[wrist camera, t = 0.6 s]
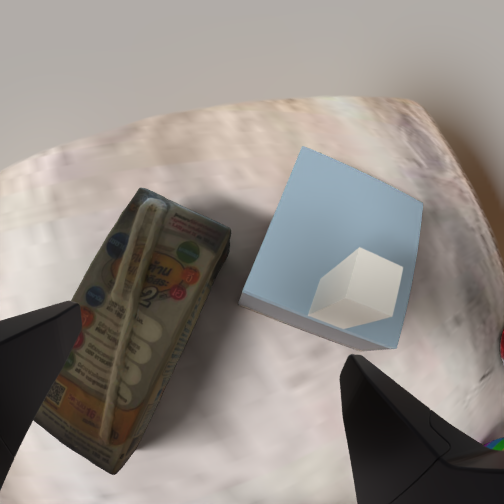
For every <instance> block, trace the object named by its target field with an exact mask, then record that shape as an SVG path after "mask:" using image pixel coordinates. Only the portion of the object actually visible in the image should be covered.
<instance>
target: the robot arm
mask: <svg viewBox="0 0 504 504" xmlns="http://www.w3.org/2000/svg"><path fill="white" fill-rule="evenodd" d="M81 329H82V318H81V308H80V305H79V304H78V303H76V302H72V301H65V302H62V303H59V304H55V305H52V306H49V307H45V308H42V309H38V310H35V311H32V312H28V313H25V314H22V315H18V316H15V317H11V318H8V319H5V320H1V321H0V490H1V488H2V485H3V483H4V481H5V478H6V476H7V474H8V471H9V469H10V467H11V465H12V463H13V460H14V457H15V456H16V454H17V451H18V449H19V447H20V445H21V443H22V441H23V439H24V437H25V435H26V433H27V431H28V429H29V427H30V425H31V423H32V421H33V420H34V418H35V416H36V414H37V412H38V410H39V408H40V407H41V405H42V403H43V401H44V399H45V398H46V396H47V394H48V392H49V391H50V389H51V387H52V385H53V384H54V382H55V380H56V378H57V377H58V375H59V373H60V372H61V370H62V368H63V367H64V365H65V363H66V361H67V359H68V357H69V355H70V353H71V351H72V348H73V346H74V344H75V342H76V340H77V338H78V336H79V334H80V332H81ZM340 389H341V402H342V415H343V422H344V427H345V432H346V438H347V443H348V449H349V454H350V460H351V466H352V472H353V478H354V484H355V491H356V497H357V504H504V450H502V451H500V450H493V449H490V448H487V447H485V446H484V445H482V444H480V443H479V442H477V441H476V440H474V439H472V438H471V437H469V436H468V435H466V434H465V433H463V432H461V431H460V430H458V429H457V428H455V427H454V426H452V425H451V424H449V423H448V422H447V421H445V420H444V419H443V418H441V417H440V416H439V415H437V414H436V413H435V412H433V411H432V410H430V409H429V408H428V407H427V406H426V405H424V404H423V403H422V402H420V401H419V400H418V399H417V398H415V397H414V396H413V395H411V394H410V393H409V392H408V391H406V390H405V389H404V388H403V387H401V386H400V385H399V384H397V383H396V382H395V381H394V380H392V379H391V378H390V377H388V376H387V375H386V374H385V373H383V372H382V371H381V370H380V369H378V368H377V367H376V366H375V365H373V364H372V363H371V362H369V361H368V360H367V359H366V358H364V357H363V356H362V355H354V354H351V355H349V356H348V358H347V360H346V362H345V364H344V367H343V369H342V371H341V374H340Z"/></svg>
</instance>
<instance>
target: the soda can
mask: <svg viewBox="0 0 504 504" xmlns="http://www.w3.org/2000/svg"><path fill="white" fill-rule="evenodd" d="M500 355H501V359H502V362H503V365H504V330H503V333H502V337H501V341H500Z"/></svg>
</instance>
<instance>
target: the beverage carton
mask: <svg viewBox="0 0 504 504" xmlns="http://www.w3.org/2000/svg"><path fill="white" fill-rule="evenodd" d="M230 237H231V229H230V228H228V227H226V226H224V225H222V224H220V223H218V222H216V221H214V220H212V219H210V218H207V217H205V216H203V215H201V214H198V213H196V212H194V211H192V210H189V209H187V208H185V207H183V206H181V205H179V204H177V203H175V202H173V201H171V200H168V199H166V198H165V197H163V196H161V195H159V194H157V193H155V192H153V191H150V190H148V189H146V188H139V189H138V191H137V193H136V194H135V196H134V197H133V198H132V200H131V201H130V203H129V204H128V206H127V207H126V208H125V210H124V211H123V212H122V214H121V215H120V217H119V219H118V221H117V223H116V224H115V225H114V227H113V228H112V230H111V231H110V233H109V234H108V236H107V238H106V239H105V241H104V243H103V244H102V246H101V248H100V250H99V251H98V253H97V255H96V256H95V258H94V260H93V261H92V263H91V265H90V267H89V269H88V270H87V272H86V274H85V276H84V278H83V280H82V282H81V283H80V285H79V287H78V289H77V291H76V293H75V294H74V296H73V298H72V300H71V301H72V302H76V303H78V304H79V305H80V308H81V318H82V329H81V332H80V334H79V336H78V338H77V340H76V342H75V344H74V346H73V348H72V351H71V353H70V355H69V357H68V359H67V361H66V363H65V365H64V367H63V368H62V370H61V372H60V373H59V375H58V377H57V378H56V380H55V382H54V384H53V385H52V387H51V389H50V391H49V392H48V394H47V396H46V398H45V399H44V401H43V403H42V405H41V407H40V408H39V410H38V412H37V414H36V416H35V418H34V421H35V422H36V423H37V424H38V425H40V426H41V427H43V428H44V429H45V430H46V431H47V432H49V433H50V434H51V435H52V436H54V437H55V438H56V439H58V440H59V441H60V442H61V443H63V444H64V445H66V446H67V447H69V448H70V449H71V450H73V451H75V452H76V453H78V454H80V455H81V456H83V457H85V458H86V459H88V460H89V461H90V462H92V463H93V464H95V465H96V466H98V467H100V468H101V469H103V470H105V471H106V472H108V473H109V474H112V475H115V474H117V473H118V471H119V470H120V469H121V468H122V467H123V466H124V465H125V463H126V462H127V461H128V459H129V458H130V457H131V455H132V454H133V453H134V451H135V450H136V448H137V446H138V444H139V442H140V440H141V438H142V436H143V434H144V432H145V430H146V428H147V426H148V423H149V421H150V420H151V418H152V415H153V413H154V411H155V409H156V407H157V405H158V402H159V400H160V398H161V396H162V394H163V392H164V389H165V387H166V385H167V383H168V381H169V379H170V377H171V375H172V372H173V370H174V368H175V366H176V364H177V362H178V360H179V358H180V356H181V354H182V351H183V349H184V347H185V345H186V343H187V341H188V339H189V337H190V334H191V332H192V330H193V328H194V325H195V323H196V321H197V319H198V316H199V314H200V312H201V310H202V307H203V305H204V303H205V301H206V299H207V296H208V294H209V292H210V289H211V287H212V283H213V281H214V279H215V277H216V275H217V273H218V272H219V270H220V268H221V266H222V265H223V263H224V261H225V260H226V258H227V256H228V254H229V248H230Z"/></svg>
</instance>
